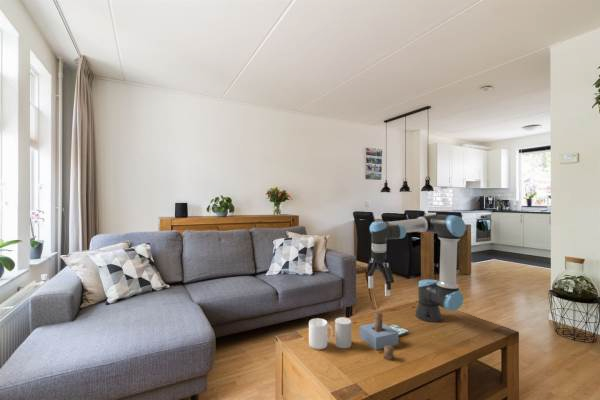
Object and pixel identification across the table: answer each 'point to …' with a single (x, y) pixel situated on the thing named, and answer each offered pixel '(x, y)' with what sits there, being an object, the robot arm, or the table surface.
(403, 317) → the table surface
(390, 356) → the short dowel
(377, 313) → the long dowel
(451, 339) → the table surface
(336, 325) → the cup
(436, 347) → the table surface
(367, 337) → the socket block
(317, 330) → the mug
